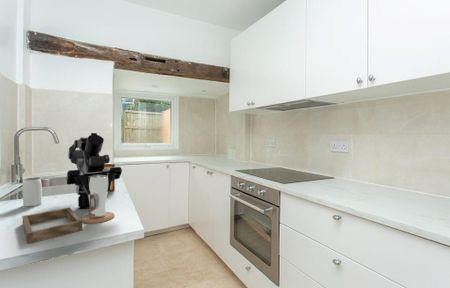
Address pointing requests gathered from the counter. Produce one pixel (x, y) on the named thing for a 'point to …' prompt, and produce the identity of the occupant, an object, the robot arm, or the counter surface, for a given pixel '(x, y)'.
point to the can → (32, 192)
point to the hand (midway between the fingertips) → (99, 192)
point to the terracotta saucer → (98, 218)
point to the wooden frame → (51, 231)
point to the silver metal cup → (97, 195)
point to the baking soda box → (107, 168)
